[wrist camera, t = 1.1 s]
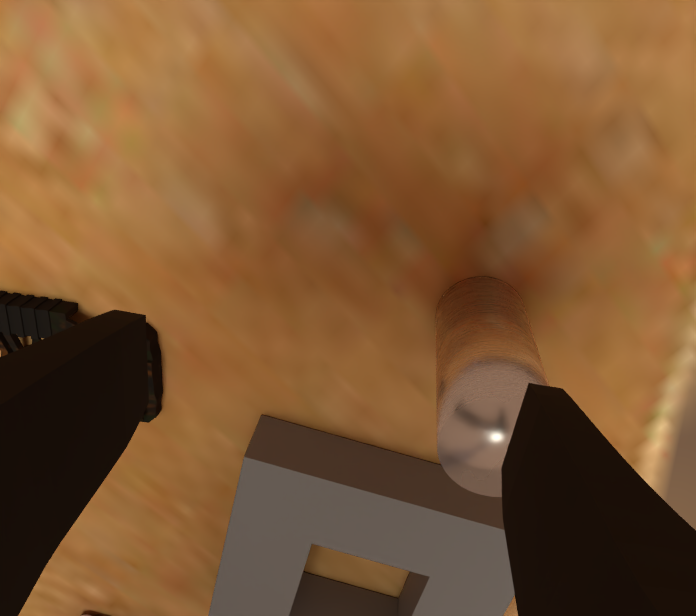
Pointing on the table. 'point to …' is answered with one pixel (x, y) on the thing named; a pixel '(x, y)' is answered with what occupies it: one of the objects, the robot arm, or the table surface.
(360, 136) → the table surface
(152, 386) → the knife
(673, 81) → the table surface
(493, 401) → the steel pin
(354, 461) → the socket block
